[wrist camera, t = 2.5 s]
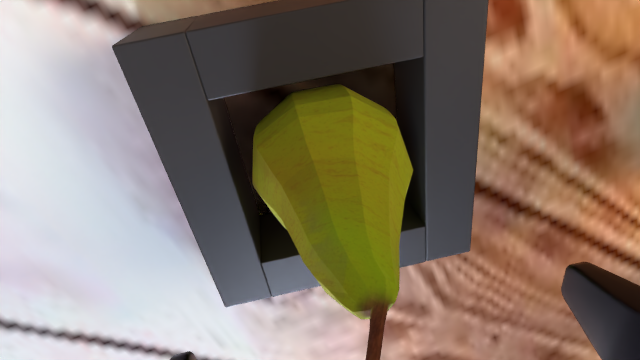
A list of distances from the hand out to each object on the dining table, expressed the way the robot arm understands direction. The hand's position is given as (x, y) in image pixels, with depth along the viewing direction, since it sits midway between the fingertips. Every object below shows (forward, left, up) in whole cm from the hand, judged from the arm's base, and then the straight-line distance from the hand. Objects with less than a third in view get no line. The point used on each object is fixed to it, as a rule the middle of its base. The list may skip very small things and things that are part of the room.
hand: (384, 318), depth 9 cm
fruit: (0, 0, -11) cm, 11 cm away
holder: (0, 0, -10) cm, 10 cm away
